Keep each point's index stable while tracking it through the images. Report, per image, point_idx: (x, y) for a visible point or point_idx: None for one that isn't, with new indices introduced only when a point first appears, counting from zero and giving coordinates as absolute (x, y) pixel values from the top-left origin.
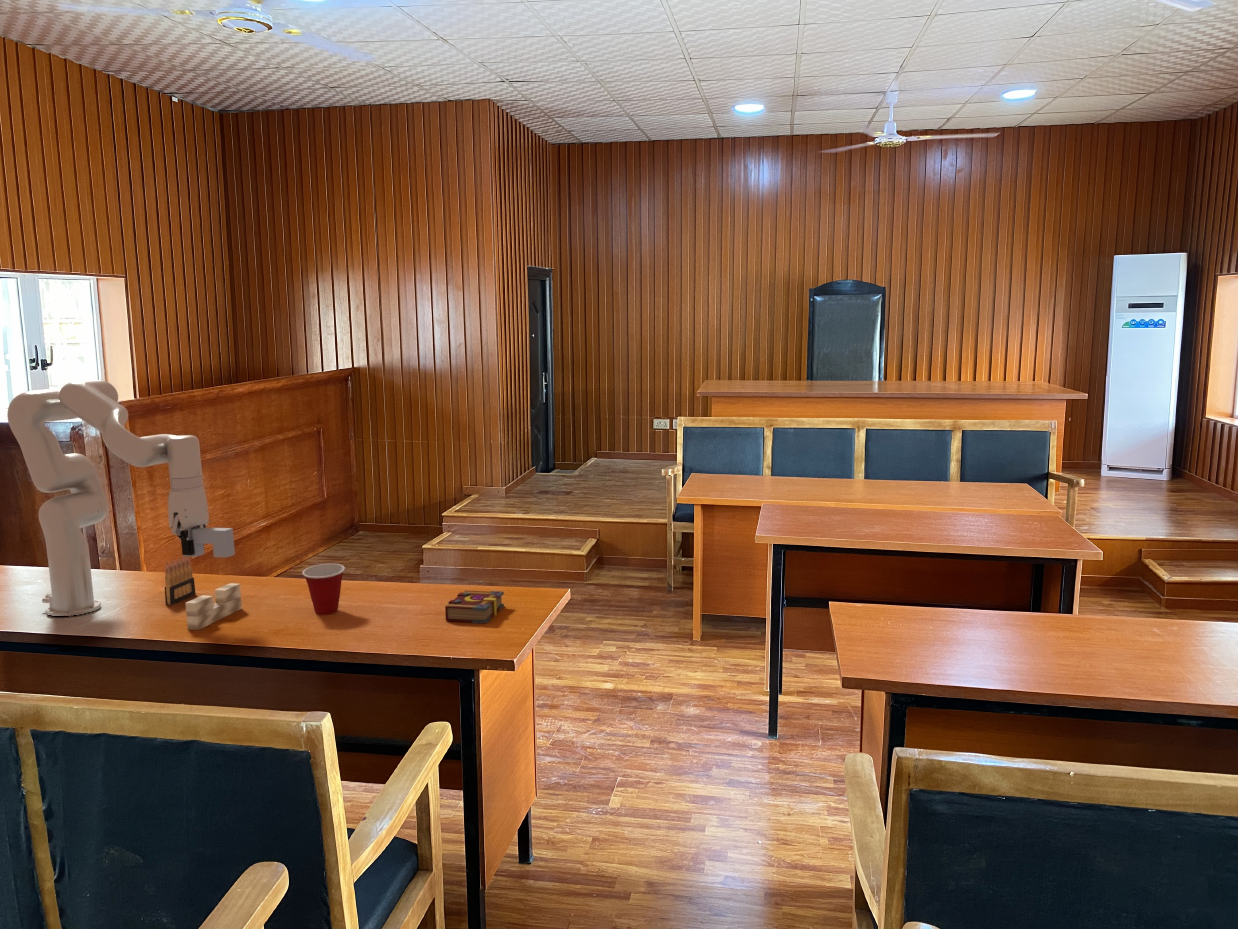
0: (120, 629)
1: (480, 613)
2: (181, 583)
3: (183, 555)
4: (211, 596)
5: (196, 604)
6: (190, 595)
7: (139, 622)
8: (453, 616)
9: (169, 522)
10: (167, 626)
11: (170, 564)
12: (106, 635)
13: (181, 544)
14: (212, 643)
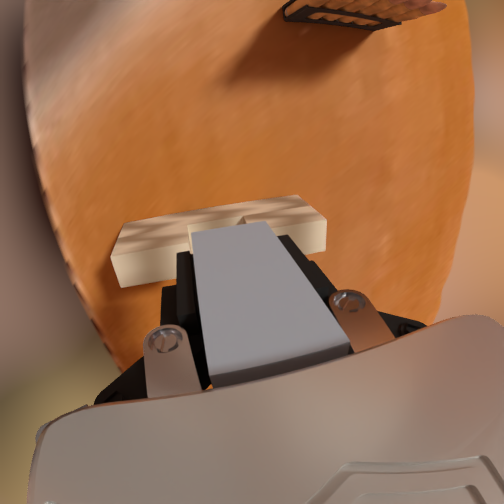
0: (71, 62)
1: None
2: (353, 14)
3: (192, 237)
4: None
5: (122, 285)
6: (358, 27)
7: (129, 53)
8: None
9: (33, 493)
10: (123, 153)
11: None
12: (31, 77)
13: (177, 290)
14: (96, 328)
